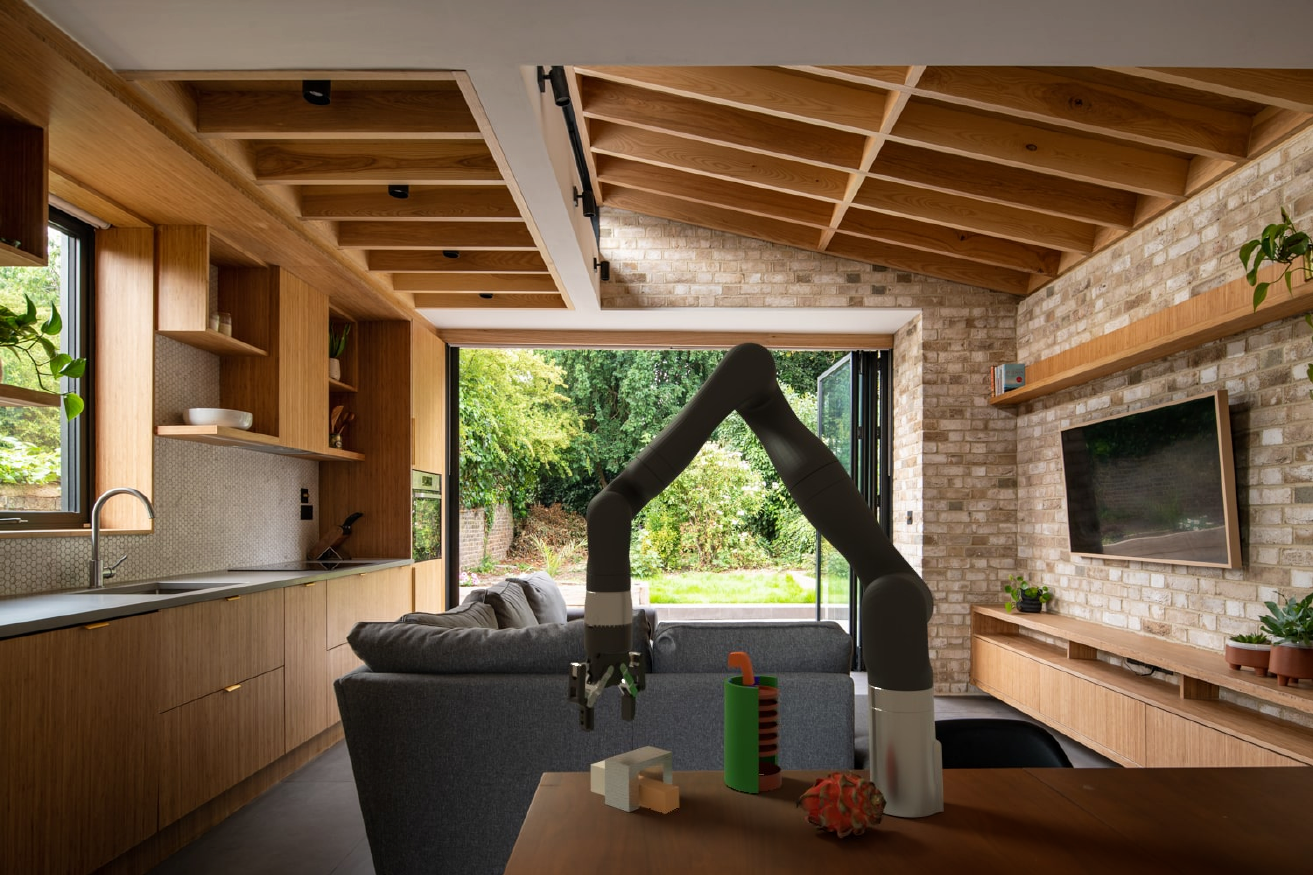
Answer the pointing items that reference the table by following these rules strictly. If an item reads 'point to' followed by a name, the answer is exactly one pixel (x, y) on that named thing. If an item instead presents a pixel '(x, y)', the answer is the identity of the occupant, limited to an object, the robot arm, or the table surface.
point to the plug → (641, 790)
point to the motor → (751, 729)
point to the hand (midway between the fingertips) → (607, 725)
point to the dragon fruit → (843, 804)
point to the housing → (634, 775)
